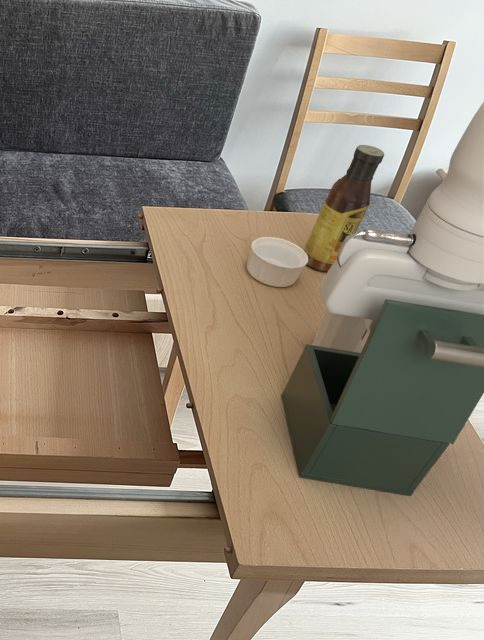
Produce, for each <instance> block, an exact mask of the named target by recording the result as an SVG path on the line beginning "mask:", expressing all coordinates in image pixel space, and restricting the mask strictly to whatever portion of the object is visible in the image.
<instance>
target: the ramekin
mask: <svg viewBox="0 0 484 640" xmlns="http://www.w3.org/2000/svg"><path fill="white" fill-rule="evenodd" d="M304 250H305V249H303V248H302V247H300V246H299V245H298V244H295V243H294V242H292V241H289V240H287V239H284V238H281V237H277V236H275V237H274V236H262V237H261V236H260V237H258V238H257V237H256V238H255V239H254V240H253V241H252V242H251V244H250V252H249V255H248V259H247V263H246V269H247V272H248V274H249V275H250V276H251V277H252V278H253V279H255V280H256V281H258V282H260V283H261V284H264V285H266V286H269V287H277V288H285V287H290V286H292V285H294V284H295V283H296V281H297V280H298V278H299V276H300V274H301V273H302V271H303V269H304V268H305V267H306V265H307V263H308V256H307V254H306V252H305V251H304Z"/></svg>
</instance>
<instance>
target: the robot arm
mask: <svg viewBox="0 0 484 640" xmlns="http://www.w3.org/2000/svg"><path fill="white" fill-rule="evenodd" d="M326 272H327V273H326V274H325V276H324V278H323V280H321V284H320V286H319V295H320V298H321V301H322V303H323V305H324V307H325V310H326V309H327V311H328V312H329V313H332V314H338V315H345V316H351V317H357V318H363V319H365V322H366V327H367V333H366V334H365V336H364V338H363V340H362V346H363V347H364V345H365V343H366V340H367V338H368V336H369V334H370V332H371V330H372V327H373V325H374V323H375V321H376V319H377V317H378V314H379V312H380V310H381V308H382V306H383V303H384V301H385V299H388V300H394V301H400V302H407V303H413V304H419V305H426V306H432V307H438V308H445V309H451V310H457V311H464V312H470V313H476V314H483V315H484V101H482V103H481V104H480V106H479V107H478V109H477V111H476V112H475V114H474V115H473V117H472V118H471V120H470V122H468V124H467V127H466V128H465V130H464V131H463V134H462V136H461V137H460V139H459V141H458V143H457V145H456V146H455V148H454V149H453V152H452V154H451V156H450V160H449V164H448V169H447V172H446V174H445V177H444V179H443V180H442V182H440V184H439V185H438V186H437V187H436V188H435V189H434V190H433V191H432V192H431V193H430V195H429V196H428V198H427V201H426V202H425V204H424V206H423V208H422V210H421V211H420V213H419V215H418V217H417V218H416V221H415V223H414V224H413V226H412V228H411V229H410V232H409V233H404V232H398V231H384V230H381V229H377V228H365V229H364V230H363V231H356V233H354V234H352V235H350V236H348V237H346V239H345V240H344V241H343V243H342V245H341V248H340V250H339V252H338V255H337V259H336V260H335V262H334V263H333V265H332V266H331V268H330V269H329V271H326Z"/></svg>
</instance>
